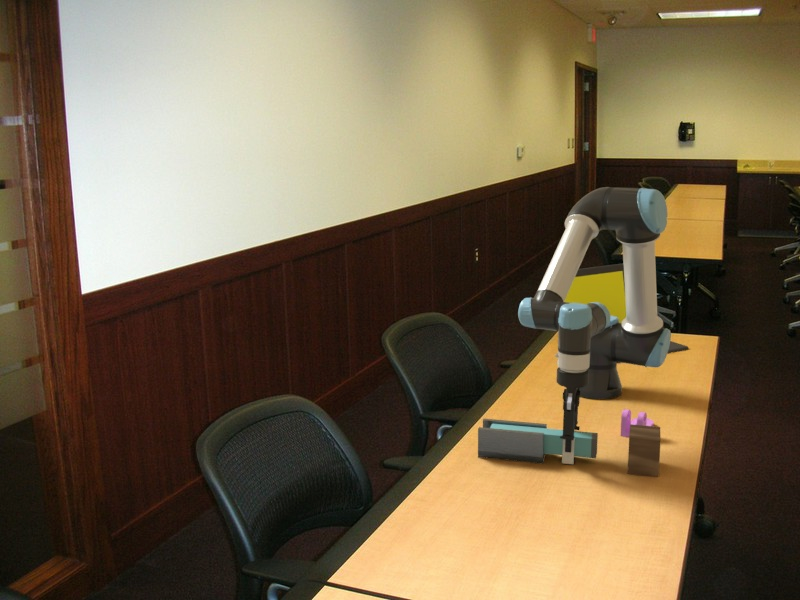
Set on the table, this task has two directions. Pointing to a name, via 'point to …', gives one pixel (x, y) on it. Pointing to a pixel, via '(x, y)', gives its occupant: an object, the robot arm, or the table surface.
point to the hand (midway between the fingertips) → (568, 459)
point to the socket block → (644, 450)
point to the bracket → (633, 421)
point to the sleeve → (511, 442)
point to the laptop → (605, 292)
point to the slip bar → (560, 440)
